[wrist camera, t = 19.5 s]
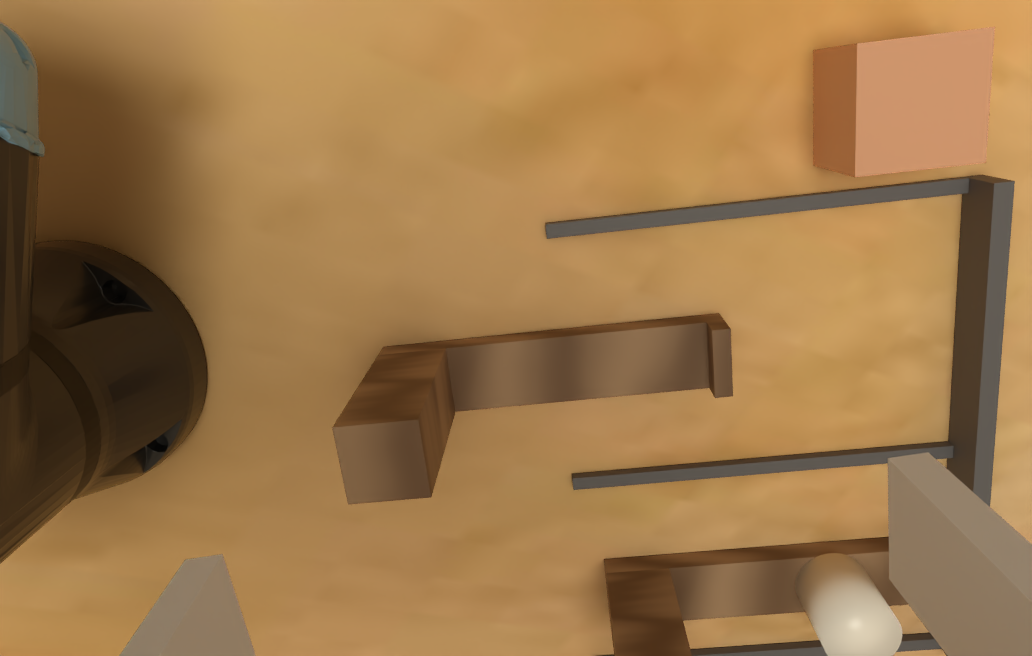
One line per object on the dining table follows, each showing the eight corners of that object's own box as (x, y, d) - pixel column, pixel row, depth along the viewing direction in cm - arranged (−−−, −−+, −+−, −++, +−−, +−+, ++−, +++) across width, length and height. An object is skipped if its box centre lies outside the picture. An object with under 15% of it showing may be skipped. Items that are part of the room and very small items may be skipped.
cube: (812, 50, 40) (857, 43, 34) (930, 35, 40) (994, 26, 34) (813, 165, 42) (855, 177, 36) (925, 152, 41) (985, 162, 36)
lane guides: (592, 665, 52) (595, 699, 49) (545, 222, 43) (545, 232, 40) (952, 641, 50) (977, 674, 48) (982, 174, 41) (1014, 181, 39)
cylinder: (795, 614, 49) (822, 672, 44) (795, 555, 47) (823, 608, 42) (866, 609, 48) (901, 666, 43) (867, 550, 47) (903, 602, 42)
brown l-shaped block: (394, 407, 47) (348, 504, 36) (383, 346, 46) (332, 427, 35) (721, 376, 46) (776, 468, 35) (718, 313, 44) (775, 386, 33)
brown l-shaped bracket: (609, 610, 51) (626, 753, 40) (604, 559, 50) (620, 692, 39) (916, 588, 49) (1022, 730, 38) (919, 534, 48) (1028, 665, 37)
